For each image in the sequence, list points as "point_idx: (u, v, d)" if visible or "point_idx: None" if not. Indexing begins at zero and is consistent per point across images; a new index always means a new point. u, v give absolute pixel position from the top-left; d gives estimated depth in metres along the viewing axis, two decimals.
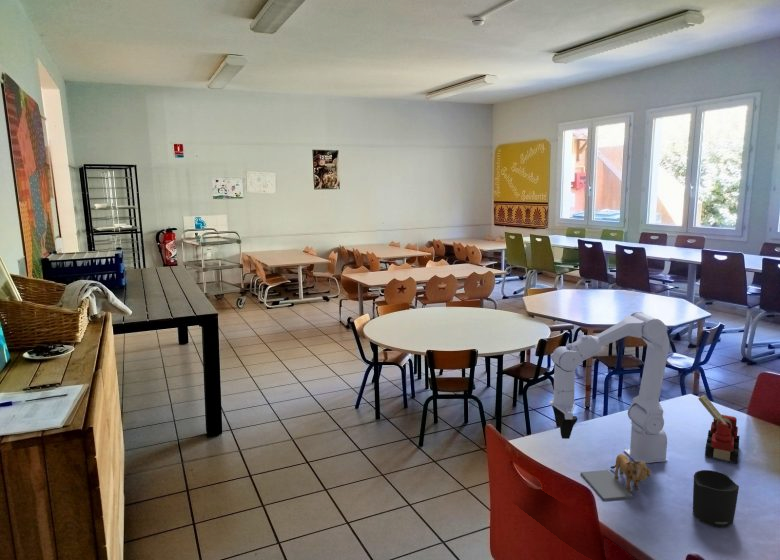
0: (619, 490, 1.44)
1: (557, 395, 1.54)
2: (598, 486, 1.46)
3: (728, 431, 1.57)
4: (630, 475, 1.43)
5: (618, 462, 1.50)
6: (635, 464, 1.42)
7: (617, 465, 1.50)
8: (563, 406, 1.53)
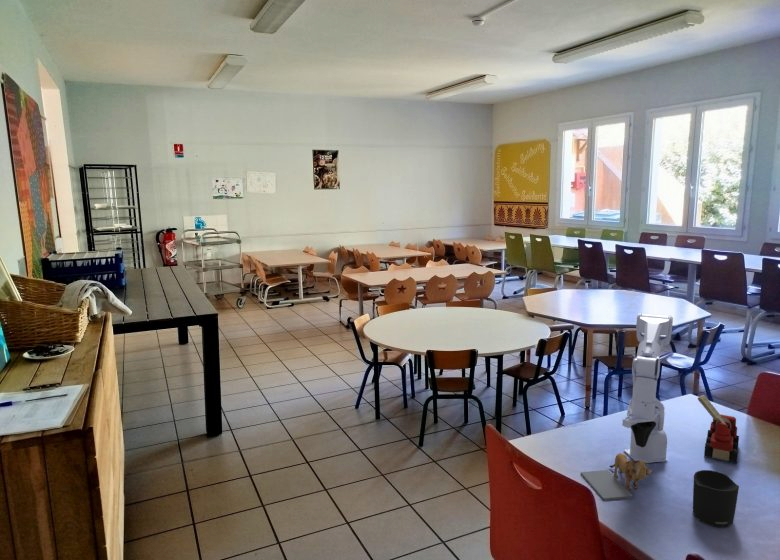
0: (619, 490, 1.44)
1: (632, 402, 1.48)
2: (598, 486, 1.46)
3: (727, 431, 1.57)
4: (630, 475, 1.43)
5: (617, 461, 1.50)
6: (634, 463, 1.43)
7: (616, 464, 1.51)
8: (634, 415, 1.47)
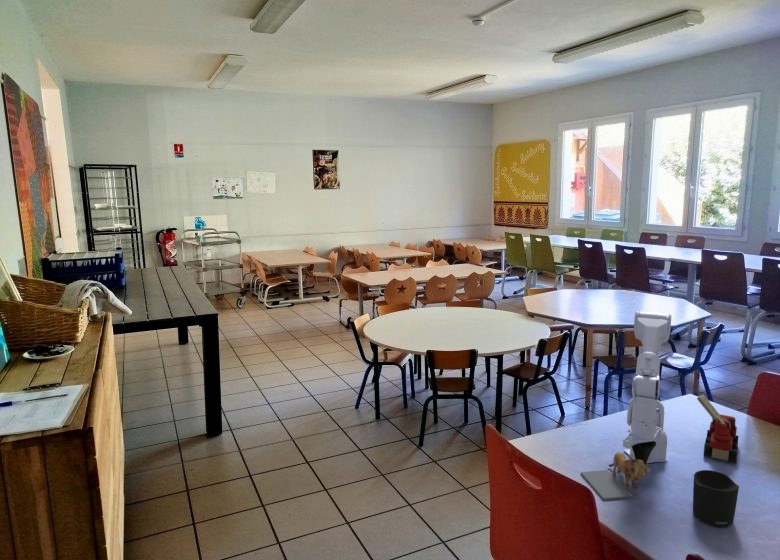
0: (619, 490, 1.44)
1: (632, 422, 1.46)
2: (598, 486, 1.46)
3: (727, 431, 1.57)
4: (629, 474, 1.44)
5: (616, 460, 1.51)
6: (632, 462, 1.43)
7: (615, 463, 1.51)
8: (634, 435, 1.45)
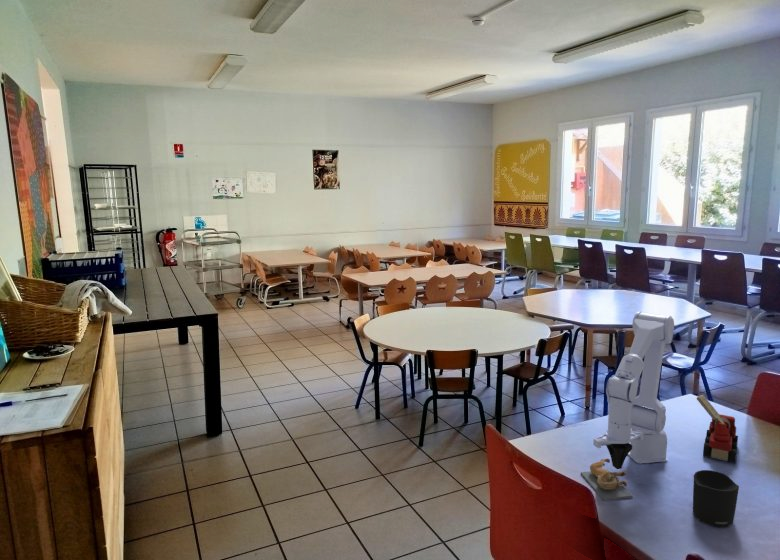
0: (619, 490, 1.44)
1: None
2: (598, 486, 1.46)
3: (726, 431, 1.57)
4: None
5: None
6: (600, 486, 1.43)
7: None
8: (608, 436, 1.45)
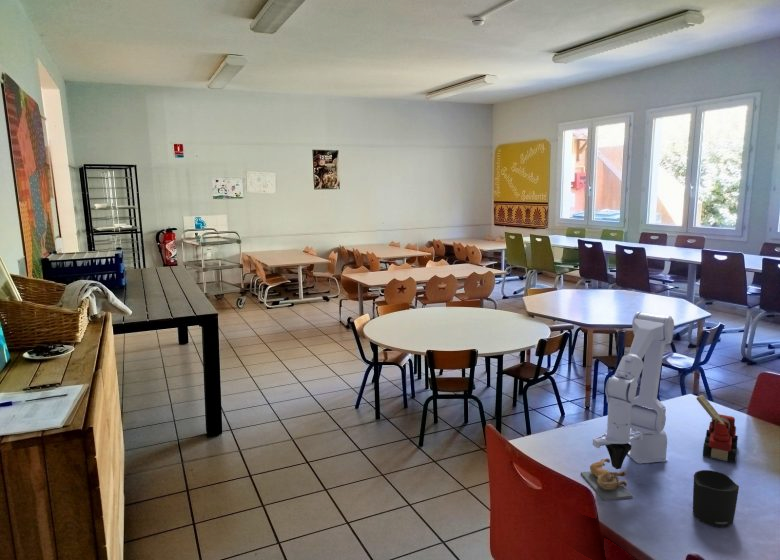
0: (619, 490, 1.44)
1: None
2: (598, 486, 1.46)
3: (726, 431, 1.57)
4: None
5: None
6: (600, 486, 1.43)
7: None
8: (607, 436, 1.45)
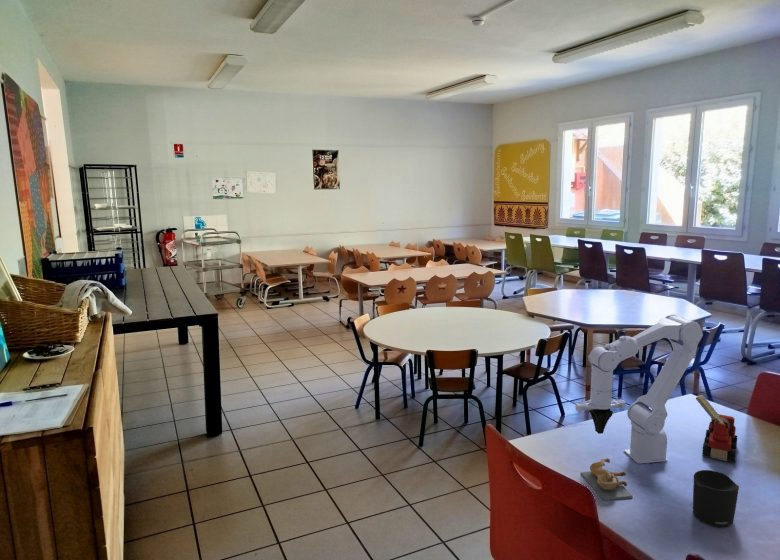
0: (619, 490, 1.44)
1: None
2: (598, 486, 1.46)
3: (725, 431, 1.57)
4: None
5: None
6: (600, 486, 1.43)
7: None
8: (590, 402, 1.57)
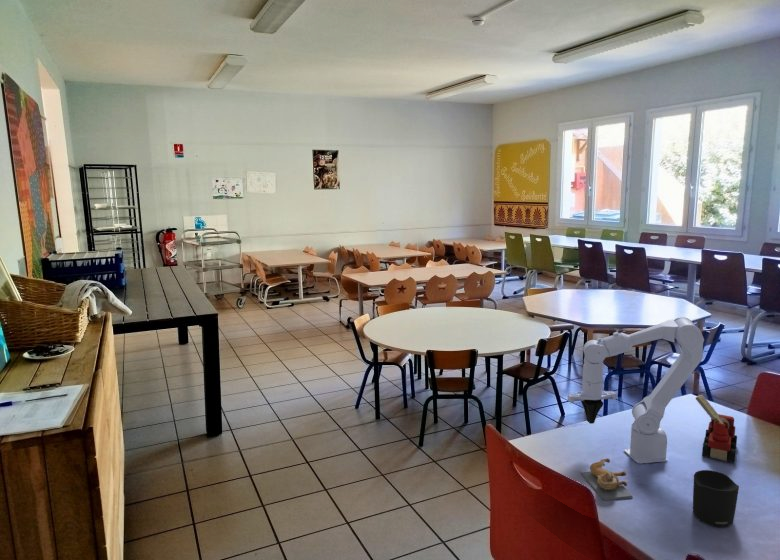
0: (619, 490, 1.44)
1: None
2: (598, 486, 1.46)
3: (725, 431, 1.57)
4: None
5: None
6: (600, 486, 1.43)
7: None
8: (582, 393, 1.63)
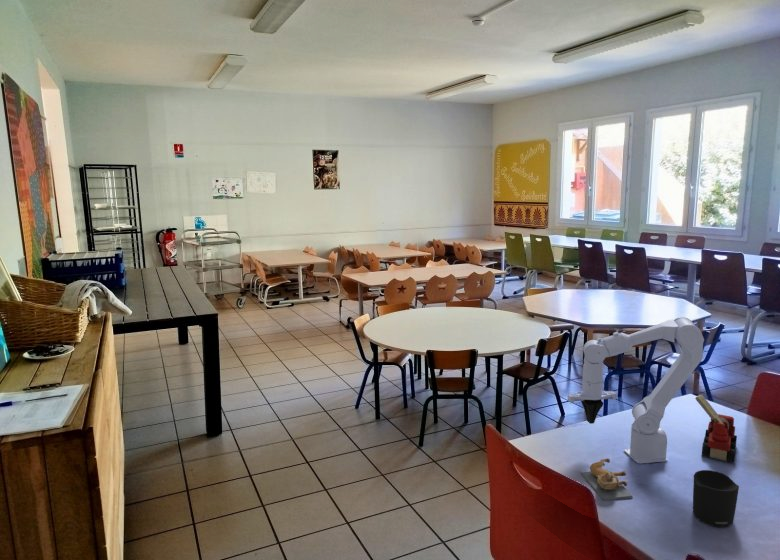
0: (619, 490, 1.44)
1: None
2: (598, 486, 1.46)
3: (725, 431, 1.57)
4: None
5: None
6: (600, 486, 1.43)
7: None
8: (582, 393, 1.63)
